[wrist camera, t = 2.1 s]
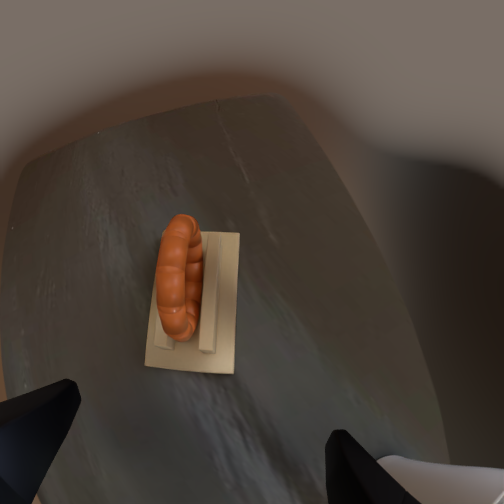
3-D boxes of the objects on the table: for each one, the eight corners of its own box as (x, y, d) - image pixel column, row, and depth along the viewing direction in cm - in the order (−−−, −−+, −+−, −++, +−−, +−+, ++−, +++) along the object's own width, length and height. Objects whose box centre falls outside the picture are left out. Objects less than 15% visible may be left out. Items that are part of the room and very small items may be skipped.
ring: (199, 348, 20) (174, 329, 13) (178, 346, 20) (143, 326, 12) (207, 250, 24) (193, 188, 16) (188, 249, 24) (168, 188, 16)
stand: (234, 374, 20) (232, 373, 17) (148, 366, 20) (132, 363, 17) (239, 237, 25) (239, 216, 22) (165, 235, 25) (156, 214, 22)
